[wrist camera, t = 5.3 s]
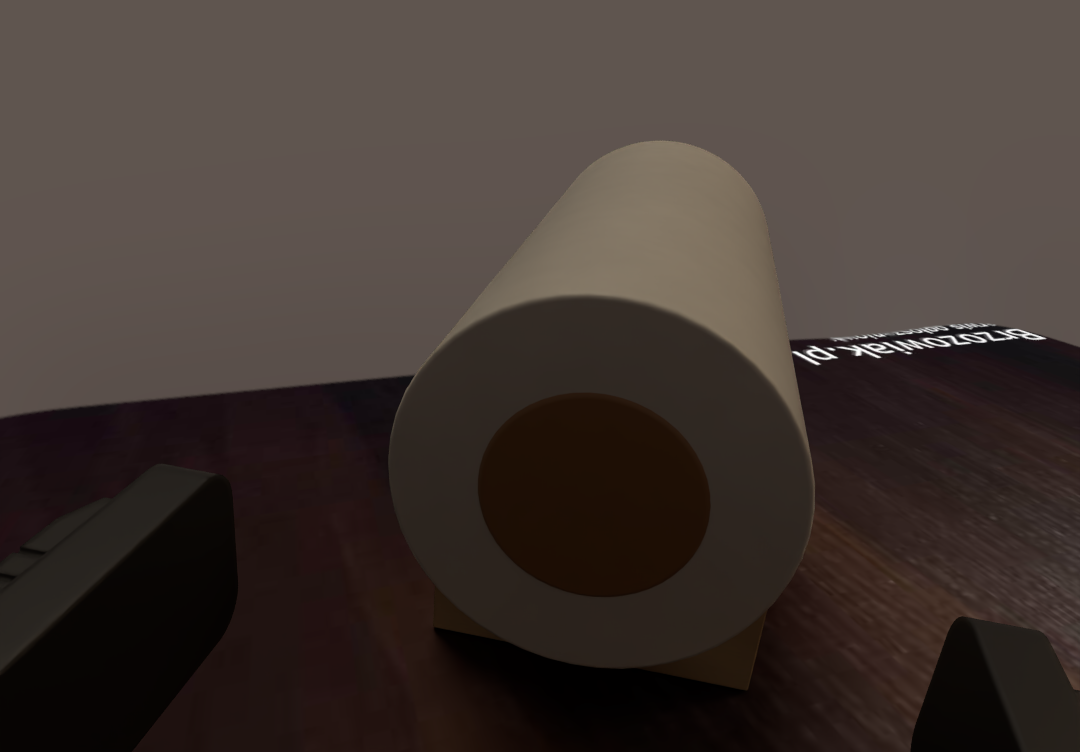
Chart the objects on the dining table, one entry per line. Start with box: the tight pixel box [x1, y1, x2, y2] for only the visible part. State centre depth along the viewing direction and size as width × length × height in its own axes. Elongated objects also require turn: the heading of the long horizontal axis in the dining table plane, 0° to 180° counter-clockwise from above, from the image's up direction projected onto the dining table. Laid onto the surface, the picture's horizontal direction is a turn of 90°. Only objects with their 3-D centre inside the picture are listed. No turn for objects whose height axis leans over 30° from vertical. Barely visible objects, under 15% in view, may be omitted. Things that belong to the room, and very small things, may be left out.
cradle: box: [433, 586, 767, 691], centre depth 22 cm, size 7×9×5 cm
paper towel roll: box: [388, 141, 815, 669], centre depth 18 cm, size 6×13×6 cm, turn 169°
